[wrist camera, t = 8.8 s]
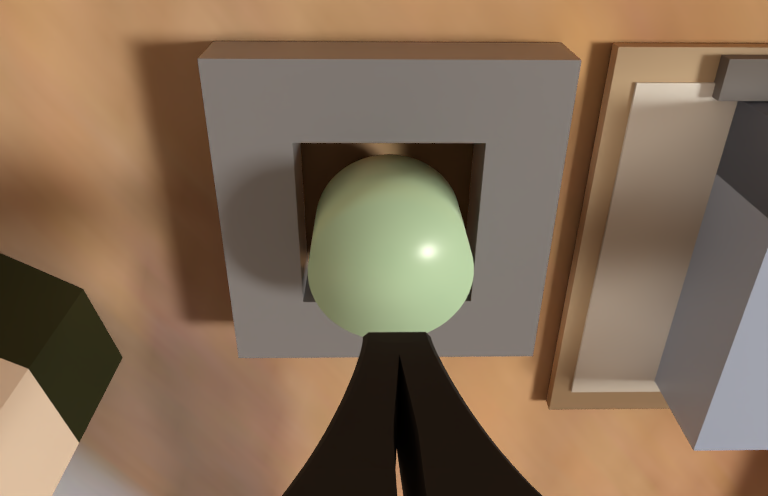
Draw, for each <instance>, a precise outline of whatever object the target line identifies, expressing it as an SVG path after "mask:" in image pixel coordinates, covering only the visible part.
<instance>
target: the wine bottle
mask: <svg viewBox="0 0 768 496" xmlns="http://www.w3.org/2000/svg"><path fill="white" fill-rule="evenodd" d="M122 358H123V357H122V356H121V354H120V352H119V350H118V349H117V347H116V345H115V344H114V342H113V340H112V338H111V337H110V335H109V333H108V331H107V330H106V328H105V326H104V325H103V323H102V321H101V319H100V318H99V316H98V314H97V312H96V311H95V309H94V307H93V306H92V304H91V302H90V300H89V299H88V297H87V295H86V293H85V292H84V290H83V289H81V288H79V287H76V286H74V285H72V284H70V283H67V282H65V281H63V280H60V279H58V278H56V277H53V276H51V275H49V274H47V273H44V272H42V271H40V270H37V269H35V268H33V267H30V266H28V265H26V264H23V263H21V262H19V261H17V260H14V259H12V258H10V257H7V256H5V255H3V254H0V496H52V495H53V493H54V491H55V489H56V487H57V485H58V483H59V481H60V479H61V477H62V475H63V473H64V471H65V469H66V467H67V465H68V463H69V461H70V459H71V457H72V456H73V454H74V452H75V450H76V448H77V446H78V444H79V442H80V440H81V438H82V436H83V434H84V432H85V430H86V428H87V426H88V424H89V422H90V420H91V418H92V416H93V414H94V412H95V410H96V408H97V407H98V405H99V403H100V401H101V399H102V397H103V395H104V393H105V391H106V389H107V387H108V385H109V383H110V381H111V379H112V377H113V375H114V373H115V371H116V369H117V367H118V365H119V363H120V361H121V359H122Z"/></svg>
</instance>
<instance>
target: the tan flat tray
mask: <svg viewBox="0 0 768 496" xmlns="http://www.w3.org/2000/svg"><path fill="white" fill-rule="evenodd" d="M738 101H768V44H749V43H613V45H612V51H611V56H610V61H609V67H608V72H607V77H606V83H605V88H604V93H603V99H602V104H601V109H600V115H599V120H598V125H597V131H596V136H595V142H594V147H593V152H592V158H591V163H590V168H589V174H588V179H587V184H586V190H585V195H584V200H583V206H582V211H581V217H580V222H579V227H578V233H577V238H576V243H575V249H574V254H573V259H572V265H571V270H570V275H569V281H568V286H567V291H566V297H565V302H564V308H563V313H562V318H561V324H560V329H559V334H558V340H557V345H556V350H555V356H554V361H553V366H552V372H551V377H550V383H549V388H548V393H547V399H546V402H547V405H548V408H549V410H563V409H670V408H669V406H668V404H667V402H666V401H665V399H664V397H663V395H662V393H661V392H660V390H659V388H658V386H657V385H656V383H655V377H656V374H657V371H658V367H659V364H660V361H661V357H662V354H663V351H664V347H665V344H666V341H667V337H668V334H669V330H670V327H671V324H672V320H673V317H674V314H675V310H676V307H677V304H678V300H679V297H680V294H681V290H682V287H683V283H684V280H685V277H686V273H687V270H688V267H689V263H690V260H691V257H692V253H693V250H694V247H695V243H696V240H697V236H698V233H699V230H700V226H701V223H702V220H703V216H704V213H705V210H706V206H707V203H708V200H709V196H710V193H711V189H712V186H713V183H714V179H715V176H716V173H717V169H718V166H719V163H720V159H721V156H722V153H723V149H724V146H725V142H726V139H727V136H728V132H729V129H730V126H731V122H732V119H733V116H734V112H735V109H736V106H737V102H738Z"/></svg>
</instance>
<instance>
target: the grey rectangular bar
mask: <svg viewBox="0 0 768 496" xmlns="http://www.w3.org/2000/svg"><path fill="white" fill-rule="evenodd" d="M655 383H656V385H657V386H658V388H659V390H660V392H661V393H662V395H663V397H664V399H665V401H666V402H667V404H668V406H669V408H670V409H671V411H672V413H673V415H674V417H675V418H676V420H677V422H678V424H679V425H680V427H681V429H682V431H683V433H684V434H685V436H686V438H687V440H688V441H689V443H690V445H691V447H692V449H693V450H768V101H738V102H737V106H736V109H735V112H734V116H733V119H732V122H731V126H730V129H729V132H728V136H727V139H726V142H725V146H724V149H723V153H722V156H721V159H720V163H719V166H718V169H717V173H716V176H715V179H714V183H713V186H712V189H711V193H710V196H709V200H708V203H707V206H706V210H705V213H704V216H703V220H702V223H701V226H700V230H699V233H698V236H697V240H696V243H695V247H694V250H693V253H692V257H691V260H690V263H689V267H688V270H687V273H686V277H685V280H684V283H683V287H682V290H681V294H680V297H679V300H678V304H677V307H676V310H675V314H674V317H673V320H672V324H671V327H670V330H669V334H668V337H667V341H666V344H665V347H664V351H663V354H662V357H661V361H660V364H659V367H658V371H657V374H656V377H655Z"/></svg>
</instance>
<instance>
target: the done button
mask: <svg viewBox="0 0 768 496" xmlns="http://www.w3.org/2000/svg"><path fill="white" fill-rule="evenodd" d="M473 276H474V263H473V256H472V253H471V249H470V245H469V241H468V238H467V234H466V230H465V227H464V223H463V219H462V216H461V212H460V208H459V205H458V201H457V198H456V195H455V193H454V191H453V189H452V188H451V186H450V185H449V183H448V182H447V180H446V179H445V178H444V177H443V176H442V175H441V174H440V173H439V172H438V171H436V170H435V169H434V168H432V167H431V166H429V165H428V164H426V163H424V162H422V161H420V160H417V159H414V158H411V157H407V156H402V155H392V154H386V155H376V156H370V157H367V158H364V159H360V160H358V161H356V162H354V163H352V164H350V165H348V166H347V167H345V168H343V169H342V170H341V171H340V172H338V173H337V174H336V175H335V176H334V177H333V178H332V179H331V180H330V181H329V183H328V184H327V186H326V187H325V189H324V190H323V192H322V194H321V196H320V199H319V202H318V205H317V211H316V217H315V223H314V230H313V236H312V243H311V249H310V256H309V262H308V281H309V286H310V290H311V293H312V295H313V297H314V299H315V301H316V303H317V304H318V306H319V308H320V309H321V310H322V311H323V312H324V314H325V315H326V316H327V317H328V318H329V319H330V320H332V321H333V322H334V323H335V324H337V325H338V326H340V327H341V328H343V329H345V330H347V331H349V332H351V333H353V334H356V335H359V336H362V337H363V336H364V335H366V334H367V333H368V332H426V333H428V332H430V331H432V330H434V329H436V328H438V327H439V326H441V325H442V324H444V323H445V322H447V321H448V320H449V319H450V318H451V317H452V316H453V315H454V314H455V313H456V312H457V311H458V310H459V309H460V307H461V306H462V305H463V303H464V302H465V300H466V298H467V296H468V294H469V292H470V289H471V286H472V282H473Z"/></svg>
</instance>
